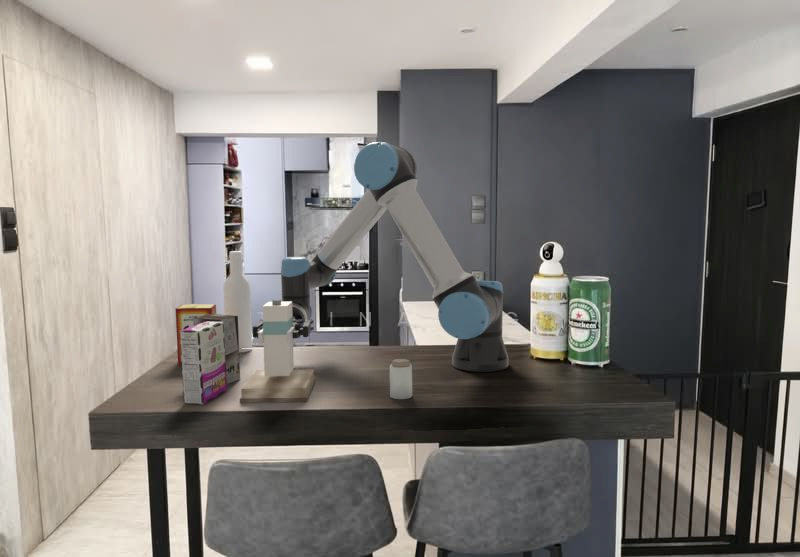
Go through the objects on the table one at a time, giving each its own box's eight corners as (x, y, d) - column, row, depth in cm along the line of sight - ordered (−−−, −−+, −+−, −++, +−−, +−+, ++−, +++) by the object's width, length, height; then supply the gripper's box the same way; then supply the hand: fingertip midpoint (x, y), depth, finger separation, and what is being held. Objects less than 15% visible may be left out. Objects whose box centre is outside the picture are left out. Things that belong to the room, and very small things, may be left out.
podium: (315, 381, 149) (315, 369, 149) (306, 401, 133) (306, 388, 132) (256, 381, 149) (255, 369, 149) (239, 402, 132) (239, 389, 132)
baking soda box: (217, 358, 174) (215, 303, 172) (213, 363, 167) (211, 306, 166) (183, 359, 173) (181, 303, 171) (178, 365, 166) (175, 307, 165)
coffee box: (241, 379, 151) (239, 315, 150) (223, 385, 146) (221, 319, 144) (213, 375, 155) (210, 313, 154) (194, 381, 149) (192, 317, 148)
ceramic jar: (411, 392, 139) (411, 358, 138) (412, 398, 134) (412, 363, 133) (389, 393, 139) (389, 358, 138) (390, 399, 134) (389, 363, 133)
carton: (294, 368, 144) (292, 297, 142) (289, 376, 137) (287, 301, 135) (270, 368, 144) (268, 297, 142) (264, 376, 137) (262, 301, 135)
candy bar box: (208, 389, 142) (205, 320, 141) (227, 390, 141) (225, 321, 140) (181, 404, 132) (178, 329, 130) (202, 405, 131) (199, 330, 129)
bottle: (248, 353, 180) (245, 252, 177) (222, 353, 180) (218, 252, 177) (255, 347, 188) (252, 250, 185) (230, 347, 188) (226, 250, 185)
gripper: (326, 334, 158) (316, 354, 135) (255, 334, 158) (232, 355, 134) (326, 305, 157) (316, 321, 134) (254, 306, 157) (231, 322, 134)
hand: (274, 338), depth 134 cm, fingers closed on carton, 6 cm apart
